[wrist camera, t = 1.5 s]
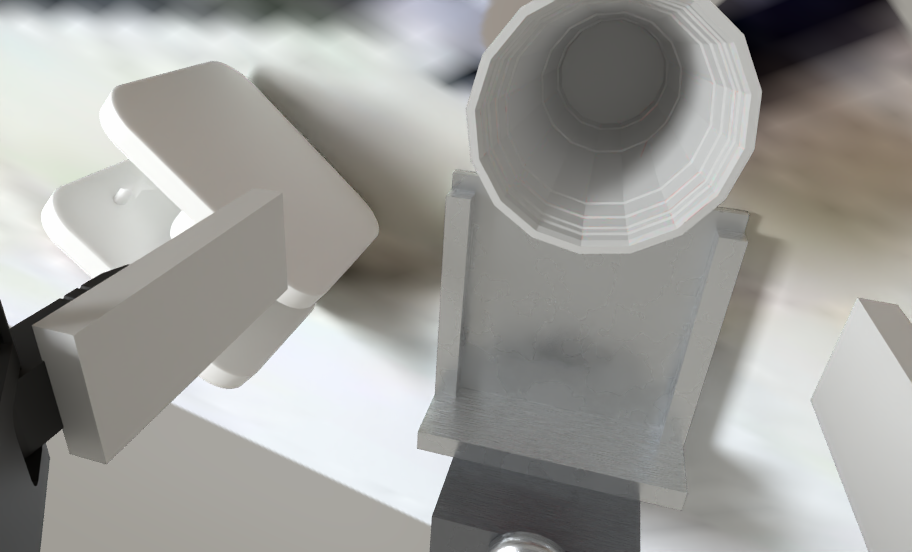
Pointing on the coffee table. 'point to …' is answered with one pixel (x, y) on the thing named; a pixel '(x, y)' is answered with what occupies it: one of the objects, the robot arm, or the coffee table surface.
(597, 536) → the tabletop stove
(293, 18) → the coffee table surface
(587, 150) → the plastic cup
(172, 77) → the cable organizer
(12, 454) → the robot arm
